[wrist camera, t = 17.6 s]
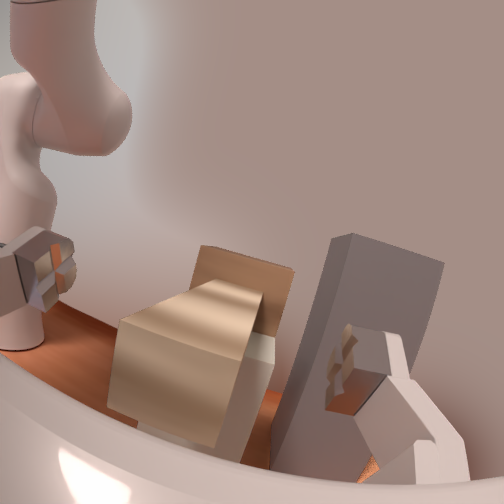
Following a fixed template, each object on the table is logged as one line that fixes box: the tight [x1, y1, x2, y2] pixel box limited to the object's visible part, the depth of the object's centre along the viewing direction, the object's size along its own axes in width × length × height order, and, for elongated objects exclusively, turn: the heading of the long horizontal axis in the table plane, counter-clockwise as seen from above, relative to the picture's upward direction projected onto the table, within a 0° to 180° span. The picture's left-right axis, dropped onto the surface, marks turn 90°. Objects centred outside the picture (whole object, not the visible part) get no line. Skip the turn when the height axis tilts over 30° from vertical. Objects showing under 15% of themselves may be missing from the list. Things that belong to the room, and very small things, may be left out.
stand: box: [137, 331, 275, 463], centre depth 23 cm, size 7×12×16 cm, turn 176°
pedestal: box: [270, 233, 444, 483], centre depth 33 cm, size 10×11×26 cm
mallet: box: [107, 245, 295, 448], centre depth 19 cm, size 21×7×5 cm, turn 176°
